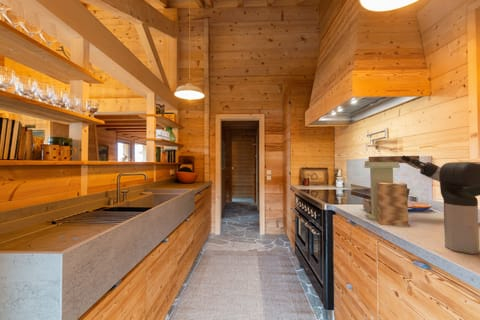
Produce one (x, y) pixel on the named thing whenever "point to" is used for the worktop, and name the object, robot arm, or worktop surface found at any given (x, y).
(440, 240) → the worktop surface
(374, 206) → the t-shaped pedestal stand
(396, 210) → the block
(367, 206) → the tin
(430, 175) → the robot arm
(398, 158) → the walnut rod
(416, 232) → the worktop surface
